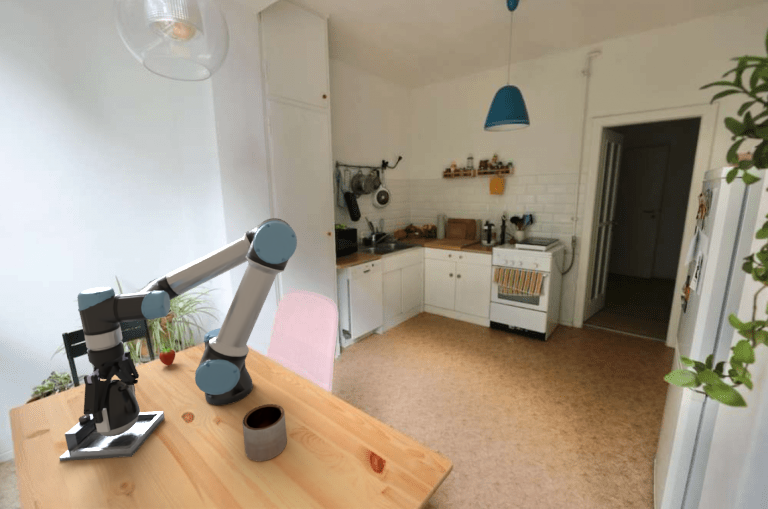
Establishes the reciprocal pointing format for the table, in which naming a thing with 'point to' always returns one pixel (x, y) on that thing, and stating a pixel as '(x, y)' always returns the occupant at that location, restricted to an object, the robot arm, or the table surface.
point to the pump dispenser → (120, 408)
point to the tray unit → (108, 438)
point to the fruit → (167, 356)
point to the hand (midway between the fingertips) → (118, 417)
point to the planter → (264, 432)
